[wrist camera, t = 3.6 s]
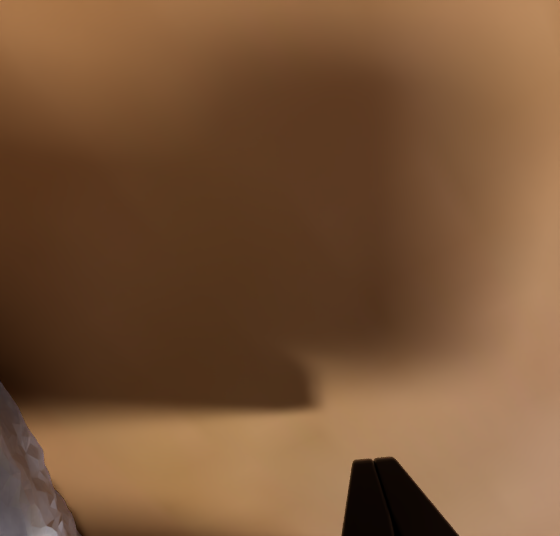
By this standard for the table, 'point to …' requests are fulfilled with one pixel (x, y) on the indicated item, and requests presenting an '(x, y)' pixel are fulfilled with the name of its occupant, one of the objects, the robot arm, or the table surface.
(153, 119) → the table surface
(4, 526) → the stone block
